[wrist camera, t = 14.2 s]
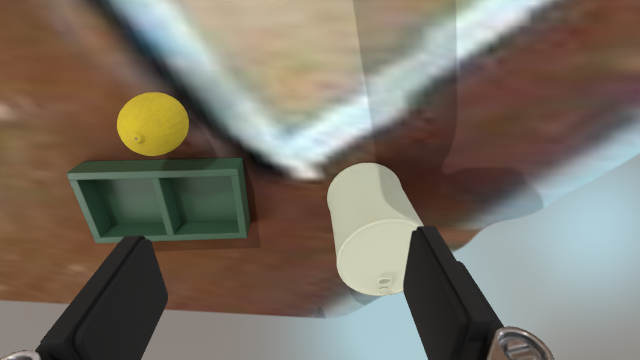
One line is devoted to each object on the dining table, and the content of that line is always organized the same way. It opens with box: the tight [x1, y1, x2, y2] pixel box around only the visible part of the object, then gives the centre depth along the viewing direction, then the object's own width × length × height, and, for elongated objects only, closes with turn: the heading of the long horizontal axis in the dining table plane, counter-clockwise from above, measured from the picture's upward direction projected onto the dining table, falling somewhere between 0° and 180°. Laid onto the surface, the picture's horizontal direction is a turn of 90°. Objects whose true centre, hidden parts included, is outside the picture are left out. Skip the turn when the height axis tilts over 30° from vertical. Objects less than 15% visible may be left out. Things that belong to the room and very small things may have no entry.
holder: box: [66, 158, 251, 243], centre depth 36 cm, size 9×17×3 cm, turn 90°
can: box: [327, 163, 424, 296], centre depth 34 cm, size 9×9×12 cm
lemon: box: [117, 92, 189, 156], centre depth 29 cm, size 6×6×8 cm
